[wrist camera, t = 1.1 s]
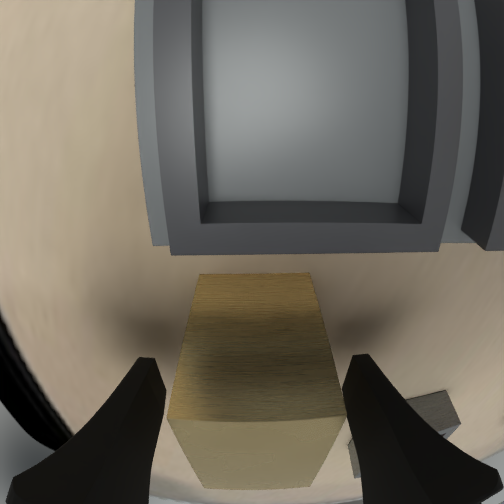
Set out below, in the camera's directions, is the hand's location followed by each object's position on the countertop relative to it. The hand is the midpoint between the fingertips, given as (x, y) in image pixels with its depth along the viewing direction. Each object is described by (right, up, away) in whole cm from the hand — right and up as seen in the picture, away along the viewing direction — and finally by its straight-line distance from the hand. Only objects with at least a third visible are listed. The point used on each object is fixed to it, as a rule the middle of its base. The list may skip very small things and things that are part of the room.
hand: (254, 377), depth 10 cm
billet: (0, +1, +2) cm, 2 cm away
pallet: (+6, +10, -3) cm, 12 cm away
